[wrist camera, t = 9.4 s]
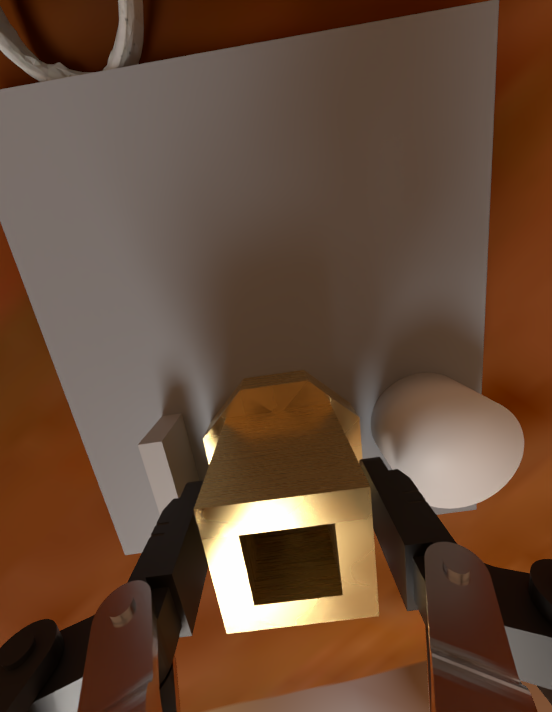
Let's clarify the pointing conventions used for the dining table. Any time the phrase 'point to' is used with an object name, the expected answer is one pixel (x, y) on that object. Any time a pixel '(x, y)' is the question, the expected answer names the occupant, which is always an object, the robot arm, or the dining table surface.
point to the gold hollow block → (287, 507)
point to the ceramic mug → (122, 55)
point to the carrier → (267, 248)
